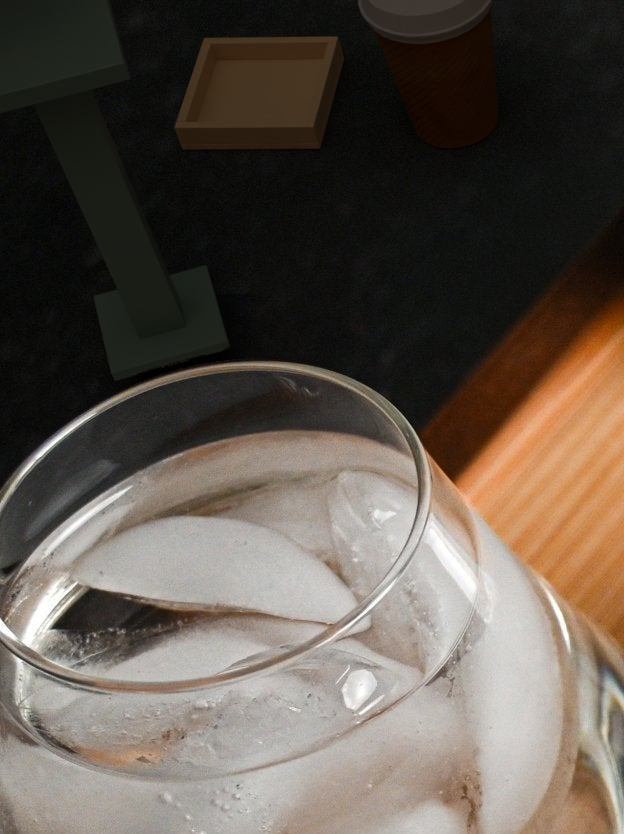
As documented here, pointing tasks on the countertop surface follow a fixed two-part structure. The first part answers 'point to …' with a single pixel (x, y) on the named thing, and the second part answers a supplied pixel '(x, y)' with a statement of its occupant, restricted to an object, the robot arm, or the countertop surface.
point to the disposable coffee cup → (440, 65)
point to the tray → (260, 93)
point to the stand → (104, 181)
